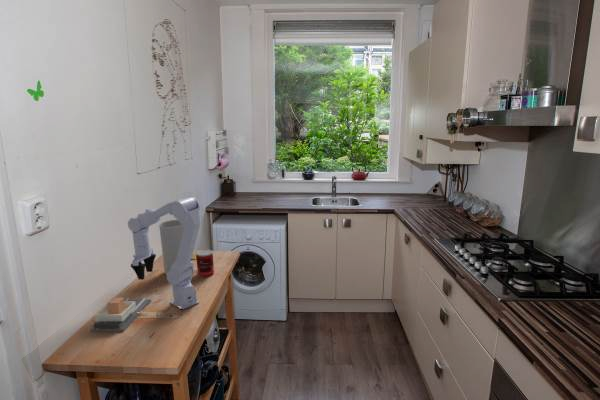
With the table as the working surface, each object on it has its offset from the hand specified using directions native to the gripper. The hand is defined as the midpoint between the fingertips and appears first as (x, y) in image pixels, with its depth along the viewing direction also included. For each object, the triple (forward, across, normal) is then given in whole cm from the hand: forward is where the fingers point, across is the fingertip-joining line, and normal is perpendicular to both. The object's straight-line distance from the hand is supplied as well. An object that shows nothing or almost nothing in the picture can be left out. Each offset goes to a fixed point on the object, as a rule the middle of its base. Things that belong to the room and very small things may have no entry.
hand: (145, 275), depth 154 cm
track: (+9, +16, -3) cm, 19 cm away
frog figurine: (+10, -42, -1) cm, 44 cm away
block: (+6, +20, -2) cm, 21 cm away
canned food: (+10, -22, +18) cm, 31 cm away
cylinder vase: (+10, -24, +4) cm, 27 cm away
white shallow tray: (+8, +20, -3) cm, 22 cm away
